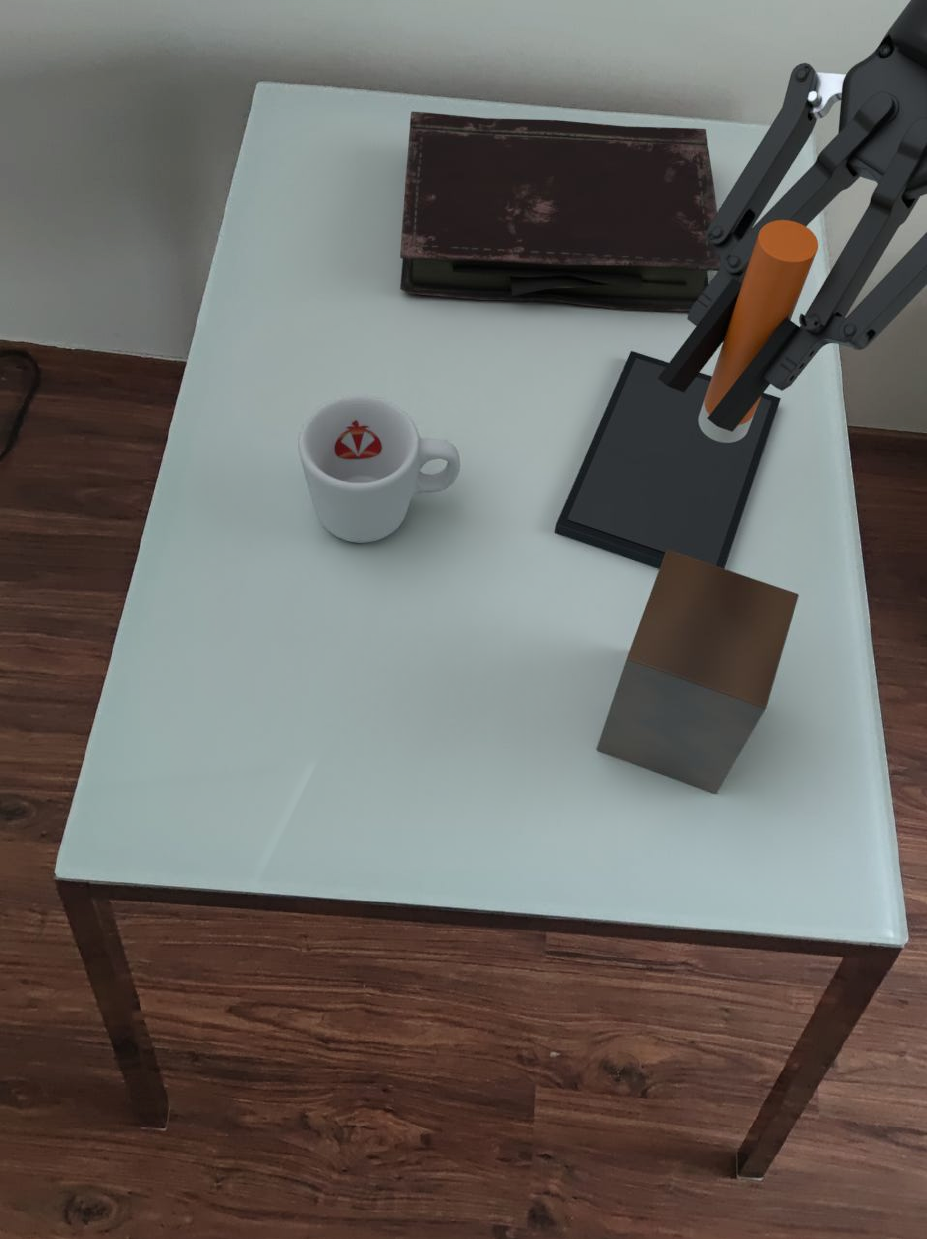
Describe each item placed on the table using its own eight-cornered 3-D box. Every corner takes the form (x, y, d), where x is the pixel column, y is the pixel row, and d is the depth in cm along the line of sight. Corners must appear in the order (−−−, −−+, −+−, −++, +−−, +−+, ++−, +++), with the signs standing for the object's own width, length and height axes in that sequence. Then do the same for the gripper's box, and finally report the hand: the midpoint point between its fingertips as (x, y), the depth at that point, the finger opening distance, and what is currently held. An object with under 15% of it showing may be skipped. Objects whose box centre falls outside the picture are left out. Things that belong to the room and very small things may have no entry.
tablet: (777, 406, 93) (781, 396, 92) (716, 588, 85) (720, 580, 84) (628, 359, 95) (631, 349, 94) (554, 532, 86) (555, 523, 85)
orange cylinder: (753, 413, 73) (824, 229, 61) (741, 449, 72) (811, 268, 60) (705, 398, 73) (766, 212, 61) (692, 433, 72) (752, 250, 60)
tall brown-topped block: (747, 690, 80) (799, 593, 70) (716, 794, 76) (766, 708, 66) (632, 649, 82) (666, 548, 71) (595, 750, 78) (626, 658, 67)
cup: (449, 460, 89) (454, 386, 82) (464, 549, 85) (470, 479, 78) (301, 471, 88) (294, 397, 81) (309, 562, 84) (302, 492, 77)
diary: (410, 152, 107) (411, 101, 102) (694, 168, 107) (706, 118, 103) (399, 305, 97) (399, 257, 93) (710, 322, 98) (725, 275, 93)
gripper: (1141, 121, 60) (823, 499, 68) (882, -32, 65) (617, 333, 73) (1139, 65, 53) (787, 491, 61) (852, -100, 59) (565, 309, 67)
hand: (695, 404), depth 67 cm, fingers closed on orange cylinder, 3 cm apart
